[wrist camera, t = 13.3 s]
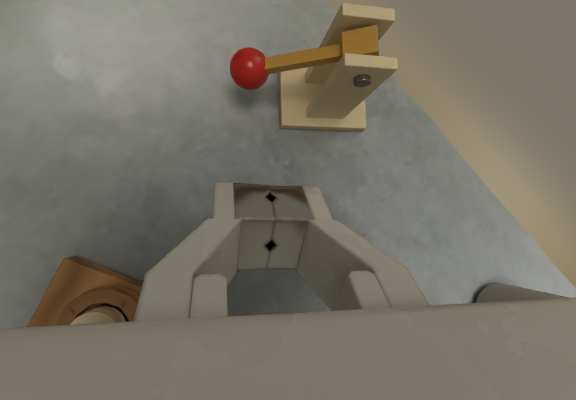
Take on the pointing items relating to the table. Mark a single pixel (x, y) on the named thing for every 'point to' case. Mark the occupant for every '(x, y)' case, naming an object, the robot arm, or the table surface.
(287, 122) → the bracket
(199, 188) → the table surface
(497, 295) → the beverage can
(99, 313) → the button
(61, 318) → the switch block
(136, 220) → the table surface
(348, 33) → the lever
